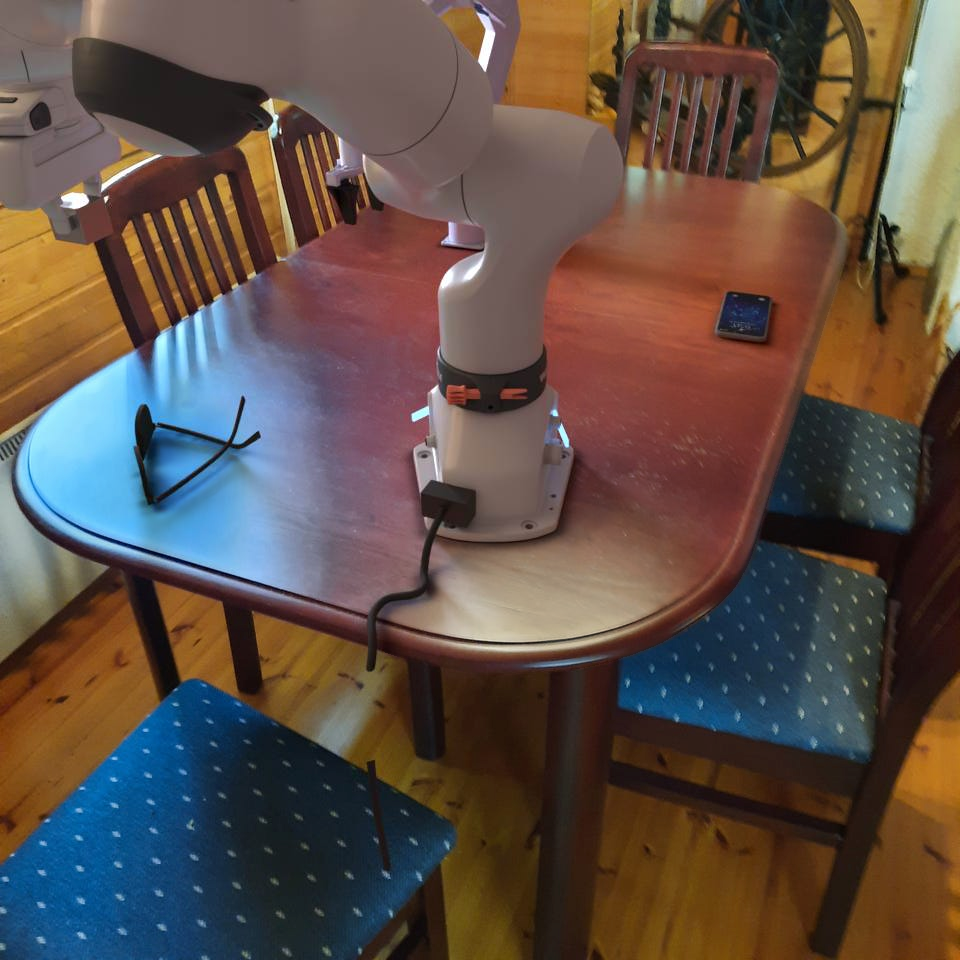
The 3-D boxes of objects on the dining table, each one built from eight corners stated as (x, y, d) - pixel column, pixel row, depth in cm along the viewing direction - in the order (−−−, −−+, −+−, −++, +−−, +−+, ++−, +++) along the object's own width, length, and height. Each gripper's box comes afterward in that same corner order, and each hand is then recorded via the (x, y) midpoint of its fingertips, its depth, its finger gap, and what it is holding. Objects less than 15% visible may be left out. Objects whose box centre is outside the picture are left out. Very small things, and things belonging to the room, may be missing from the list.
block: (82, 227, 105) (72, 192, 103) (114, 232, 104) (104, 197, 101) (55, 240, 102) (43, 204, 99) (87, 245, 100) (76, 209, 98)
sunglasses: (270, 486, 97) (262, 449, 94) (137, 510, 94) (125, 474, 91) (257, 411, 110) (250, 377, 107) (140, 430, 107) (130, 396, 104)
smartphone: (773, 295, 132) (766, 339, 121) (772, 301, 133) (765, 345, 121) (725, 289, 134) (713, 331, 123) (724, 295, 135) (712, 337, 123)
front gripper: (68, 77, 102) (101, 193, 110) (-43, 121, 86) (5, 253, 94) (117, 77, 101) (146, 194, 109) (13, 123, 85) (57, 256, 93)
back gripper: (363, 120, 145) (371, 200, 153) (307, 141, 135) (318, 226, 143) (397, 125, 142) (403, 206, 150) (342, 147, 132) (352, 233, 140)
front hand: (80, 222), depth 102 cm, fingers closed on block, 5 cm apart
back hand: (364, 216), depth 146 cm, fingers open, 7 cm apart
